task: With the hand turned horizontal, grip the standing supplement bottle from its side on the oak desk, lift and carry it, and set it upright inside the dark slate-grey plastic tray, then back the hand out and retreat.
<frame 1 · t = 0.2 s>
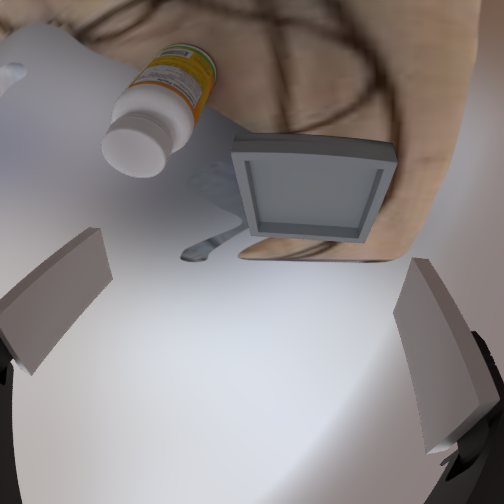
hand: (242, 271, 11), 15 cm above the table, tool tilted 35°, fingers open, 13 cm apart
grey tray: (312, 186, 29), on the table
supplement bottle: (184, 70, 18), on the table
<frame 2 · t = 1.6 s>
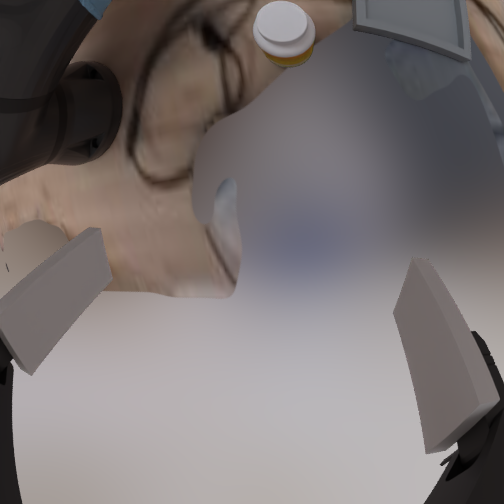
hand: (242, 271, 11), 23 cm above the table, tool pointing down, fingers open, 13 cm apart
supplement bottle: (288, 46, 24), on the table
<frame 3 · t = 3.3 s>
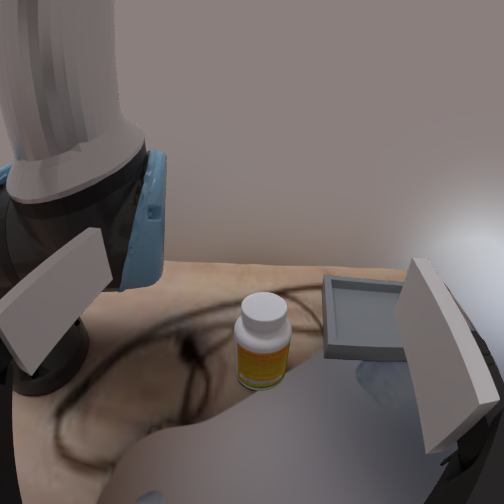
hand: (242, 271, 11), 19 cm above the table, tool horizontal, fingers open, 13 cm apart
grey tray: (371, 322, 36), on the table
supplement bottle: (260, 373, 29), on the table
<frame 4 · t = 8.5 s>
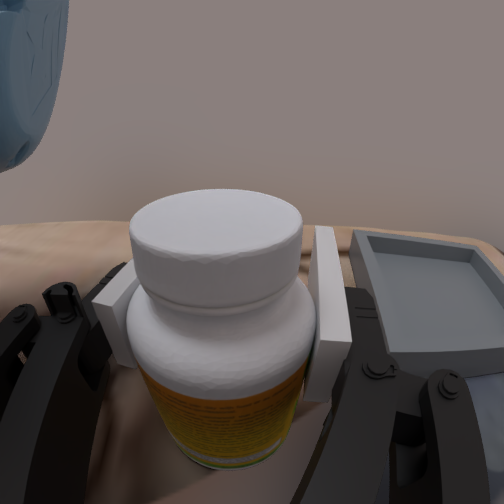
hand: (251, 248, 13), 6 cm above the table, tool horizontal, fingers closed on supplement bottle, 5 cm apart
grey tray: (441, 307, 18), on the table
supplement bottle: (229, 422, 11), on the table, touching gripper
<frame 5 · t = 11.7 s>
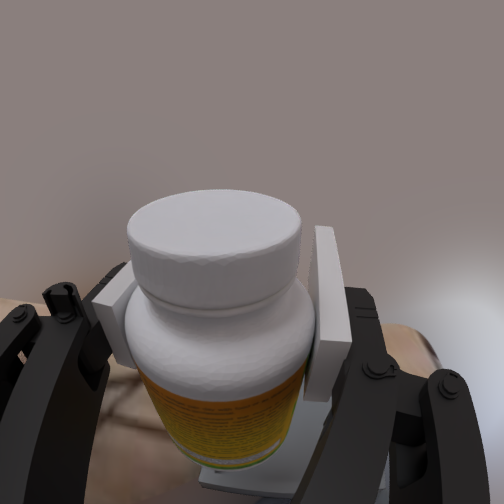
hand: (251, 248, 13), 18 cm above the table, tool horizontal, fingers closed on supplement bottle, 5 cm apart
grey tray: (296, 429, 21), on the table
supplement bottle: (228, 423, 11), point 12 cm above the table, touching gripper
when the fingers open (8 cm above the table, at t = 14.8 s): supplement bottle drops 1 cm, resting on grey tray.
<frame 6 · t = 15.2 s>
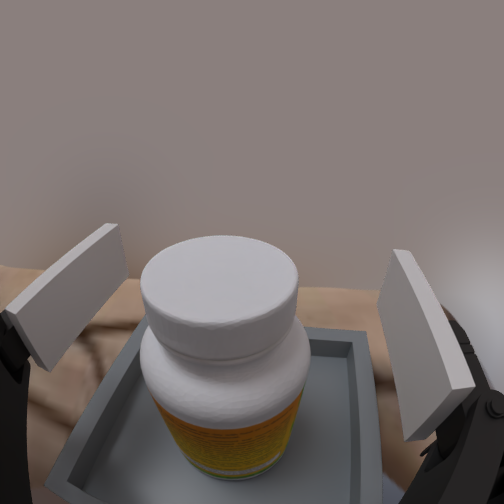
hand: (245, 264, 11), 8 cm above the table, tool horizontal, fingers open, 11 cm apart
grey tray: (231, 440, 12), on the table
supplement bottle: (232, 436, 12), point 1 cm above the table, touching grey tray
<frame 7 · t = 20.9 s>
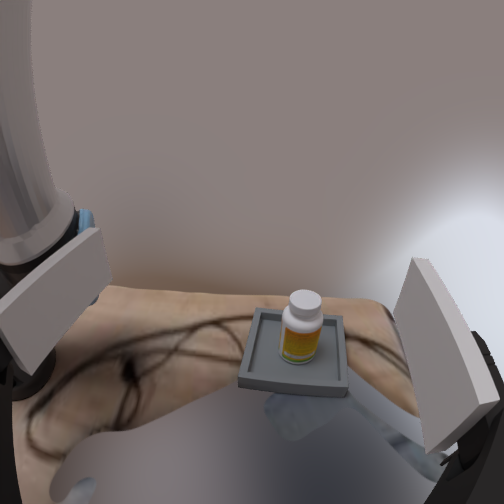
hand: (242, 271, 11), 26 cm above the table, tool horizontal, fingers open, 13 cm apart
grey tray: (295, 355, 39), on the table
supplement bottle: (296, 352, 39), point 1 cm above the table, touching grey tray
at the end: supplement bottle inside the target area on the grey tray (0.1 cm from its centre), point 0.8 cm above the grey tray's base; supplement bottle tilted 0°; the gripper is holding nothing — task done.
